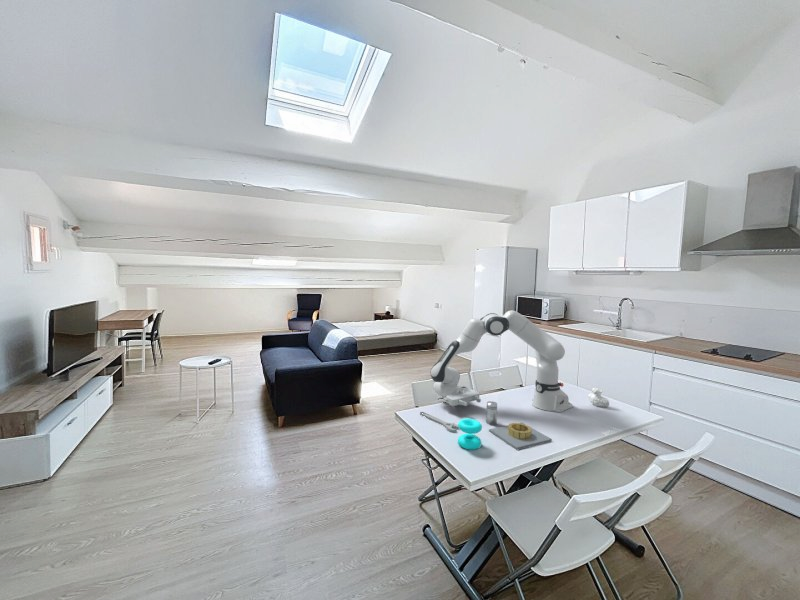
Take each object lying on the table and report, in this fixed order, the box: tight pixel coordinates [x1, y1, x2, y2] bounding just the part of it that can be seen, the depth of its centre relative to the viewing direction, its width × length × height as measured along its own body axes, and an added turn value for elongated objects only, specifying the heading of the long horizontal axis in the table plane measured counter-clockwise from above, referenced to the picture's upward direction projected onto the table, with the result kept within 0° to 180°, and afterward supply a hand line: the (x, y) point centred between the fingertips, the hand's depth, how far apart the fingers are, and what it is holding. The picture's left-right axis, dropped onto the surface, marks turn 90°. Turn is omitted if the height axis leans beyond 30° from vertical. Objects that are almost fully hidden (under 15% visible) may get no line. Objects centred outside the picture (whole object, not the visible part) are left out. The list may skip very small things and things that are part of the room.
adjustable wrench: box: [419, 411, 460, 433], centre depth 165 cm, size 25×6×2 cm, turn 35°
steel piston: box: [485, 401, 498, 426], centre depth 164 cm, size 5×5×10 cm
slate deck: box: [488, 422, 553, 451], centre depth 151 cm, size 20×18×1 cm
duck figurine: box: [588, 387, 610, 408], centre depth 189 cm, size 12×8×11 cm
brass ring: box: [508, 422, 532, 439], centre depth 151 cm, size 10×10×3 cm
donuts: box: [457, 418, 483, 451], centre depth 143 cm, size 10×10×10 cm
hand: (473, 402), depth 174 cm, fingers open, 8 cm apart
